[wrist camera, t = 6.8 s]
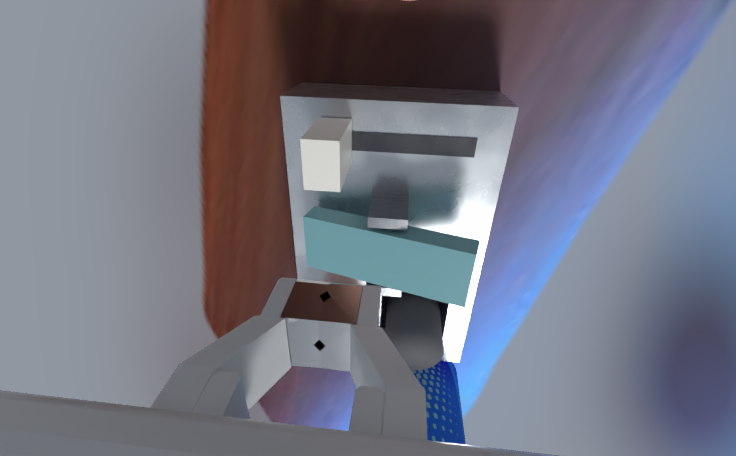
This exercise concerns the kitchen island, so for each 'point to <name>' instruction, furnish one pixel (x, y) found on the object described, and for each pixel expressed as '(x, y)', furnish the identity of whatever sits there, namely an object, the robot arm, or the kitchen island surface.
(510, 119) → the switch box
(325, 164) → the slider knob
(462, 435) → the beer can
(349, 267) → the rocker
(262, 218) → the kitchen island surface
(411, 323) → the black button
